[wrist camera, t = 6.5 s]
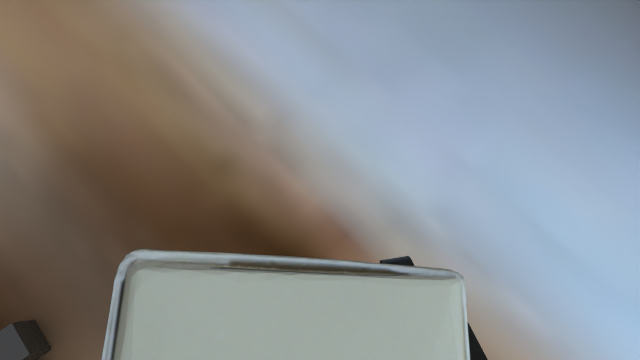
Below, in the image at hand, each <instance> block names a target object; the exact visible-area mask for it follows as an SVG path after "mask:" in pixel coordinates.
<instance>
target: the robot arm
mask: <svg viewBox="0 0 640 360" xmlns="http://www.w3.org/2000/svg"><path fill="white" fill-rule="evenodd" d="M380 264H393V265H405V266H414V264H413V262H412V260H411V258H410V257H409V256H405V257H399V258H393V259H387V260H381V261H380ZM467 324H468V337H469V350H470V360H487V358H486V356H485V354H484V352H483V350H482V348H481V346H480V344H479V342H478V341H477V339H476V337H475V335H474V333H473V331H472V329H471V327H470V325H469V323H467Z"/></svg>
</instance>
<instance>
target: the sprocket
mask: <svg viewBox="0 0 640 360" xmlns="http://www.w3.org/2000/svg"><path fill="white" fill-rule="evenodd" d="M50 349H51V347H50V345H49V344H48V342H47V340H46V339H45V337H44V335H43V333H42V332H41V330H40V328H39V327H38V325H37V323H36V322H35V320H29V321H22V322H15V323H11V324H9V325H8V326H7V327H5V328H4V329H2V330H1V331H0V360H36V359H38V358H39V357H40V356H42V355H43V354H45V353H46V352H47V351H49V350H50Z"/></svg>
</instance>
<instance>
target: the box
mask: <svg viewBox="0 0 640 360" xmlns="http://www.w3.org/2000/svg"><path fill="white" fill-rule="evenodd" d="M101 360H470V350H469V337H468V324H467V311H466V287H465V282H464V278H463V276H462V275H460V274H459V273H458V272H455V271H452V270H449V269H441V268H429V267H417V266H405V265H393V264H380V263H369V262H360V261H348V260H334V259H320V258H307V257H294V256H274V255H256V254H242V253H218V252H192V251H168V250H153V249H138V250H134V251H132V252H131V253H129V254H128V255H126V256H125V258H124V259H123V260H122V262H121V263H120V265H119V267H118V268H117V272H116V276H115V280H114V286H113V293H112V300H111V306H110V312H109V317H108V323H107V329H106V334H105V340H104V346H103V351H102V357H101Z"/></svg>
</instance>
